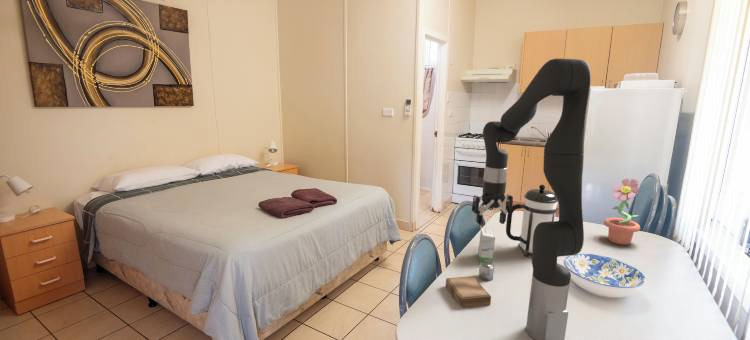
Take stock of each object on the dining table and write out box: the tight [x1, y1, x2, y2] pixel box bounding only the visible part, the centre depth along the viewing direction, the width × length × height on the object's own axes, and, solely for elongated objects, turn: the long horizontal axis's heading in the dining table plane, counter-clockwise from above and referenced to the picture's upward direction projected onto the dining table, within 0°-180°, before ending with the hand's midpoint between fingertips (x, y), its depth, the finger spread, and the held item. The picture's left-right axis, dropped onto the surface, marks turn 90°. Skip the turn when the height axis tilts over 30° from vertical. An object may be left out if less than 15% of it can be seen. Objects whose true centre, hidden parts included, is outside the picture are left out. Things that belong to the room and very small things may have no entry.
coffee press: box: [505, 184, 559, 257], centre depth 151 cm, size 17×16×30 cm
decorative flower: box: [603, 178, 641, 246], centre depth 164 cm, size 15×14×30 cm
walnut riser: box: [445, 276, 492, 309], centre depth 120 cm, size 13×10×3 cm
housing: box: [478, 262, 495, 282], centre depth 131 cm, size 5×5×5 cm
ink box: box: [477, 228, 496, 264], centre depth 145 cm, size 9×5×12 cm, turn 168°
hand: (490, 223), depth 128 cm, fingers open, 8 cm apart
